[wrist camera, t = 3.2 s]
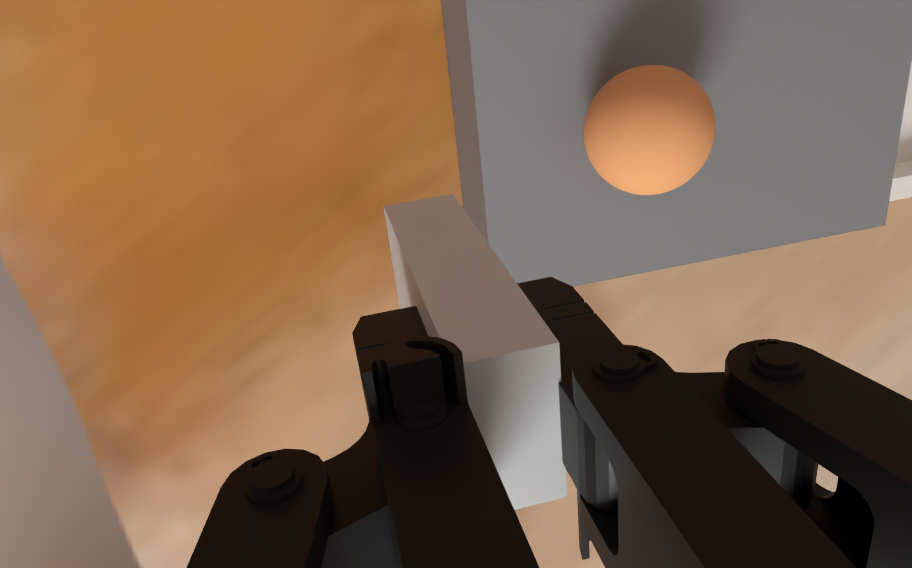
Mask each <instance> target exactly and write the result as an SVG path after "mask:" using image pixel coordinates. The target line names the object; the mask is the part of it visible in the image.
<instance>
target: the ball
mask: <svg viewBox="0 0 912 568" xmlns="http://www.w3.org/2000/svg"><path fill="white" fill-rule="evenodd" d="M715 131H716V122H715V115H714V110H713V107H712V104H711V102H710V99H709V97H708V96H707V94H706V93H705V91H704V89H703V88H702V87H701V86H700V85H699V84H698V83H697V82H696V81H695V80H694V79H693V78H692V77H690V76H689V75H687V74H686V73H684V72H682V71H680V70H678V69H675V68H672V67H668V66H663V65H643V66H638V67H633V68H631V69H628V70H625V71H623V72H622V73H620V74H618V75H616V76H615V77H613V78H612V79H610V80H609V81H608V82H607V83H606V84H605V85H604V86H603V87H602V88H601V89H600V90H599V91H598V93H597V94H596V95H595V97H594V99H593V100H592V102H591V104H590V106H589V109H588V111H587V114H586V118H585V123H584V143H585V148H586V152H587V155H588V157H589V160H590V161H591V163H592V165H593V167H594V168H595V170H596V171H597V172H598V174H599V175H600V176H601V177H602V178H603V179H604V180H606V181H607V182H608V183H609V184H611V185H612V186H614V187H616V188H618V189H620V190H622V191H625V192H628V193H632V194H638V195H655V194H661V193H665V192H668V191H671V190H673V189H676V188H678V187H679V186H681V185H683V184H684V183H686V182H687V181H689V180H690V179H691V178H692V177H693V176H694V175H695V174H696V173H697V172H698V171H699V170H700V169H701V167H702V166H703V165H704V163H705V162H706V160H707V158H708V156H709V154H710V152H711V149H712V146H713V143H714V139H715Z"/></svg>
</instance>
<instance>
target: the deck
mask: <svg viewBox="0 0 912 568" xmlns="http://www.w3.org/2000/svg"><path fill="white" fill-rule="evenodd" d="M441 3H442V12H443V22H444V31H445V40H446V49H447V59H448V68H449V77H450V86H451V96H452V105H453V114H454V123H455V133H456V142H457V151H458V160H459V170H460V179H461V188H462V197H463V207H464V210H465V212H466V213H467V214H468V216H469V217H470V219H471V220H472V221H473V223H474V224H475V226H476V227H477V228H478V230H479V231H480V232H481V234H482V235H483V237H484V238H485V239H486V241H487V242H488V244H489V245H490V246H491V248H492V249H493V251H494V252H495V253H496V255H497V256H498V258H499V259H500V260H501V262H502V263H503V265H504V266H505V267H506V269H507V270H508V272H509V273H510V274H511V276H512V277H513V279H514V280H515V281H516V283H522V282H527V281H532V280H537V279H542V278H547V277H553V278H555V279H557V280H560V281H562V282H564V283H566V284H568V285H570V286H572V287H573V286H579V285H584V284H589V283H594V282H599V281H604V280H609V279H614V278H619V277H624V276H629V275H634V274H639V273H645V272H650V271H655V270H660V269H665V268H670V267H675V266H680V265H685V264H690V263H695V262H700V261H706V260H711V259H716V258H721V257H726V256H731V255H736V254H741V253H746V252H751V251H756V250H761V249H766V248H772V247H777V246H782V245H787V244H792V243H797V242H802V241H807V240H812V239H817V238H822V237H827V236H832V235H838V234H843V233H848V232H853V231H858V230H863V229H868V228H873V227H878V226H883V225H885V224H886V218H887V212H888V205H889V199H890V193H891V187H892V180H893V174H894V168H895V162H896V155H897V149H898V143H899V137H900V130H901V124H902V118H903V112H904V105H905V99H906V93H907V87H908V80H909V74H910V68H911V62H912V0H441ZM643 65H663V66H668V67H672V68H675V69H678V70H680V71H682V72H684V73H686V74H687V75H689V76H690V77H692V78H693V79H694V80H695V81H696V82H697V83H698V84H699V85H700V86H701V87H702V88H703V89H704V91H705V93H706V94H707V96H708V97H709V99H710V102H711V104H712V107H713V110H714V115H715V122H716V131H715V139H714V143H713V146H712V149H711V152H710V154H709V156H708V158H707V160H706V162H705V163H704V165H703V166H702V167H701V169H700V170H699V171H698V172H697V173H696V174H695V175H694V176H693V177H692V178H691V179H690V180H689V181H687V182H686V183H684V184H683V185H681V186H679V187H678V188H676V189H673V190H671V191H668V192H665V193H661V194H655V195H638V194H632V193H628V192H625V191H622V190H620V189H618V188H616V187H614V186H612V185H611V184H609V183H608V182H607V181H606V180H604V179H603V178H602V177H601V176H600V175H599V174H598V172H597V171H596V170H595V168H594V167H593V165H592V163H591V161H590V160H589V157H588V155H587V152H586V148H585V143H584V123H585V118H586V114H587V111H588V109H589V106H590V104H591V102H592V100H593V99H594V97H595V95H596V94H597V93H598V91H599V90H600V89H601V88H602V87H603V86H604V85H605V84H606V83H607V82H608V81H609V80H610V79H612V78H613V77H615V76H616V75H618V74H620V73H622V72H623V71H625V70H628V69H631V68H633V67H638V66H643Z"/></svg>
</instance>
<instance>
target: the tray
mask: <svg viewBox="0 0 912 568" xmlns="http://www.w3.org/2000/svg"><path fill="white" fill-rule="evenodd" d="M909 197H912V62H911V68H910V74H909V80H908V87H907V93H906V99H905V105H904V112H903V118H902V124H901V130H900V137H899V143H898V149H897V155H896V162H895V168H894V174H893V180H892V187H891V193H890V199H889V201H894V200H899V199H904V198H909Z"/></svg>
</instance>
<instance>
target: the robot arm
mask: <svg viewBox="0 0 912 568" xmlns="http://www.w3.org/2000/svg"><path fill="white" fill-rule="evenodd" d="M384 212H385V218H386V224H387V231H388V237H389V243H390V250H391V256H392V262H393V269H394V275H395V281H396V288H397V294H398V300H399V306H400V309H397V310H392V311H387V312H382V313H377V314H372V315H367V316H362V317H361V318H360V320H359V321H358V323H357V325H356V327H355V329H354V331H353V333H352V334H353V339H354V344H355V350H356V355H357V360H358V365H359V370H360V375H361V380H362V386H363V391H364V396H365V401H366V406H367V411H368V416H369V424H368V426H367V429H366V431H365V433H364V434H363V435H362V437H361V438H360V439H359V440H358V441H357V442H356V443H355V444H354V445H352V446H351V447H350V448H349V449H347V450H346V451H344V452H342V453H340V454H339V455H337V456H335V457H333V458H331V459H329V460H327V461H324V462H323V461H322V460H321V459H320V457H319V456H318V455H315V454H313V453H310V452H308V451H306V450H299V449H282V450H277V451H272V452H267V453H264V454H262V455H259V456H257V457H255V458H253V459H250V460H248V461H246V462H245V463H243V464H242V465H241V466H240V467H238V468H237V469H236V470H234V471H233V472H232V473H231V474H230V475H229V477H228V478H227V479H226V481H225V482H224V484H223V485H222V487H221V488H220V491H219V493H218V495H217V498H216V500H215V502H214V505H213V507H212V509H211V512H210V514H209V516H208V519H207V521H206V524H205V526H204V528H203V531H202V533H201V535H200V538H199V540H198V542H197V545H196V547H195V549H194V552H193V554H192V556H191V559H190V561H189V563H188V566H187V568H539V566H538V564H537V561H536V559H535V557H534V554H533V552H532V550H531V547H530V545H529V543H528V541H527V538H526V536H525V534H524V531H523V529H522V527H521V524H520V522H519V520H518V517H517V515H516V513H515V510H517V509H521V508H525V507H529V506H533V505H537V504H541V503H545V502H549V501H553V500H557V499H561V498H565V497H567V484H566V470H567V471H568V473H569V475H570V477H571V478H572V480H573V482H574V484H575V486H576V487H577V500H578V523H579V546H580V552H581V556H582V560H584V559H588V558H590V557H589V541H590V539H591V541H592V543H593V545H594V547H595V549H596V551H597V553H598V555H599V556H600V558H601V560H602V562H603V564H604V566H605V568H912V400H910V399H908V398H906V397H904V396H902V395H900V394H898V393H896V392H894V391H893V390H891V389H889V388H887V387H885V386H883V385H881V384H879V383H877V382H875V381H873V380H871V379H869V378H867V377H865V376H863V375H861V374H859V373H857V372H855V371H853V370H851V369H850V368H848V367H846V366H844V365H842V364H840V363H838V362H836V361H834V360H832V359H830V358H828V357H826V356H824V355H822V354H820V353H818V352H816V351H814V350H812V349H810V348H807V347H804V346H802V345H799V344H796V343H793V342H787V341H781V340H777V339H768V340H765V339H763V340H754V341H750V342H746V343H742V344H740V345H738V346H736V347H735V348H733V349H732V350H730V351H729V353H728V356H727V358H726V360H725V372H710V373H682V372H674V370H673V369H672V368H671V367H670V366H669V365H668V364H667V363H666V362H665V361H664V360H663V359H662V358H661V357H659V356H658V355H656V354H655V353H654V352H652V351H650V350H647V349H644V348H641V347H638V346H632V345H623V344H622V343H621V342H620V341H619V340H618V339H617V337H616V336H615V335H614V334H613V333H612V332H611V331H610V329H609V328H608V327H607V326H606V325H605V324H604V322H603V321H602V320H601V319H600V318H599V317H598V316H597V314H596V313H595V314H594V313H593V310H592V309H591V308H590V306H589V305H588V304H587V303H586V302H585V303H584V299H583V298H582V297H581V296H580V295H579V294H578V293H577V291H576V290H575V289H574V288H573V287H572V286H570V285H568V284H566V283H564V282H562V281H560V280H557V279H555V278H553V277H547V278H542V279H537V280H532V281H527V282H522V283H516V281H515V280H514V279H513V277H512V276H511V274H510V273H509V272H508V270H507V269H506V267H505V266H504V265H503V263H502V262H501V260H500V259H499V258H498V256H497V255H496V253H495V252H494V251H493V249H492V248H491V246H490V245H489V244H488V242H487V241H486V239H485V238H484V237H483V235H482V234H481V232H480V231H479V230H478V228H477V227H476V226H475V224H474V223H473V221H472V220H471V219H470V217H469V216H468V214H467V213H466V212H465V210H464V209H463V207H462V206H461V205H460V203H459V202H458V200H457V199H456V198H455V196H454V195H453V194H449V195H444V196H438V197H432V198H427V199H421V200H416V201H410V202H404V203H399V204H393V205H387V206H384ZM818 464H819V465H821V466H823V467H824V468H826V469H827V470H829V471H830V472H832V473H833V474H835V475H836V476H838V483H837V489H836V491H835V492H831V491H829V490H827V489H825V488H823V487H821V486H820V485H818V484H817V483H816V476H817V469H818Z"/></svg>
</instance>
